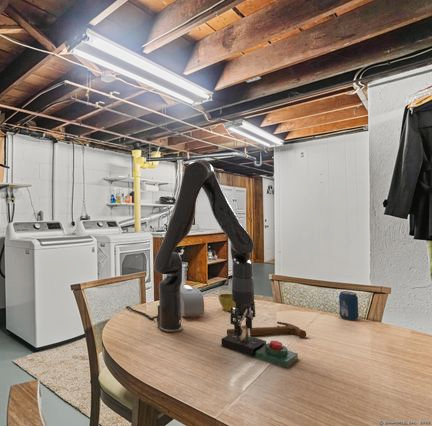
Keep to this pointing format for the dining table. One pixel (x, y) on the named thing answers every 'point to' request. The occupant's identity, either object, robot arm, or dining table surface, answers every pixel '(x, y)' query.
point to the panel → (243, 344)
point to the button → (276, 345)
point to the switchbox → (277, 355)
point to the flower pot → (226, 301)
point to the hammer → (274, 330)
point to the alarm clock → (191, 301)
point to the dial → (244, 334)
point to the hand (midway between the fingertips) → (243, 332)
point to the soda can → (348, 305)
